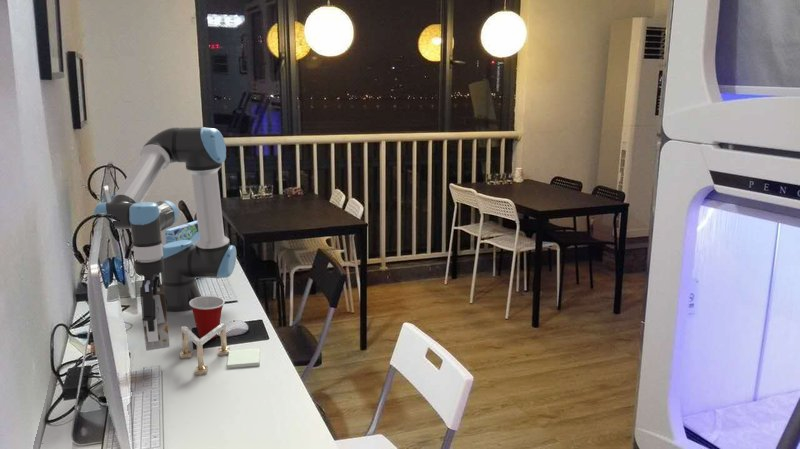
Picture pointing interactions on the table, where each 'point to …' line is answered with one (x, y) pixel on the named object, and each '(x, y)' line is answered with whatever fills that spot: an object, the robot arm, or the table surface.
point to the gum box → (183, 233)
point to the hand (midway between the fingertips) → (156, 333)
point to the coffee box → (158, 320)
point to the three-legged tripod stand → (199, 342)
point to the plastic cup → (207, 313)
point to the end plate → (244, 358)
